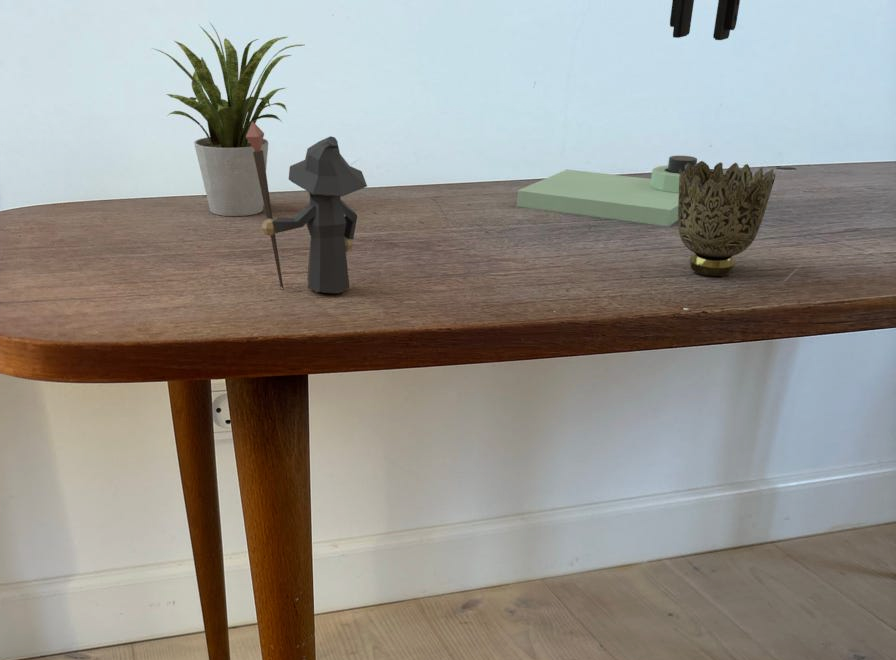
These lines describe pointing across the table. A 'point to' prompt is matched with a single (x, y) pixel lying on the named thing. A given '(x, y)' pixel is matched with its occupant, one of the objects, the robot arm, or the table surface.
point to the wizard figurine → (317, 210)
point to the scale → (607, 195)
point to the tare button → (680, 163)
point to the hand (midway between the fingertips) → (701, 35)
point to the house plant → (229, 127)
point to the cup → (720, 213)
